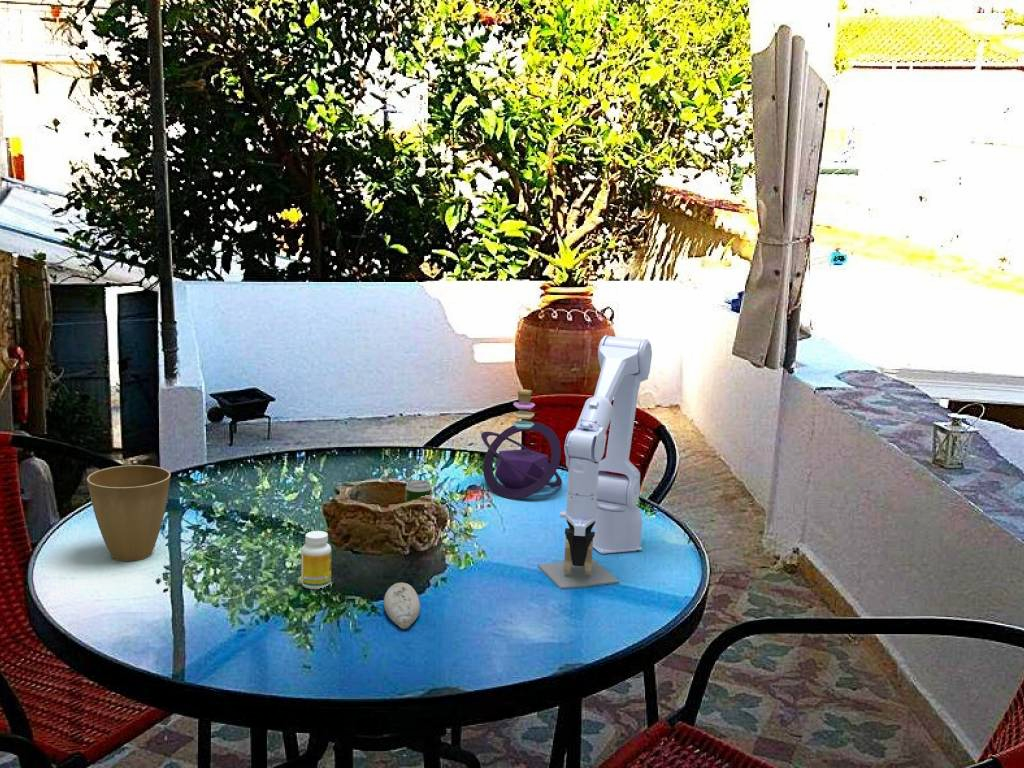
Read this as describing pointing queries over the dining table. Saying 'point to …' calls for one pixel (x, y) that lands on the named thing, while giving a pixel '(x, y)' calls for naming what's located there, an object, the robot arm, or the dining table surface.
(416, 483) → the beer can
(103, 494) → the plant pot
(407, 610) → the decorative stone
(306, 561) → the supplement bottle
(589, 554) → the wooden u-frame
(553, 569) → the slate mat
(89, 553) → the dining table surface
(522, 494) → the decorative bottle
